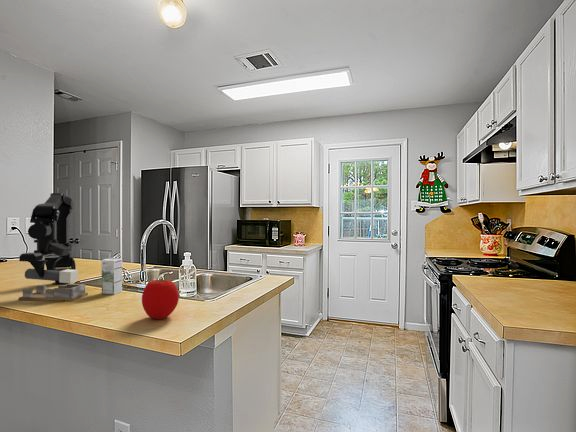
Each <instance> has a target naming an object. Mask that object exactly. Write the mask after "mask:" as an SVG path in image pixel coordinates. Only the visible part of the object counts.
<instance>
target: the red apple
mask: <svg viewBox="0 0 576 432" xmlns="http://www.w3.org/2000/svg"><path fill="white" fill-rule="evenodd" d="M179 294H180V293H179V289H178V287H177V285H176V284H175V282H174V281H172V280H170V279H163V278H160V279H154V280H151V281H149V282H148V283H147V284H146V285H145V287H144V289H143V291H142V295H141V305H142V308H143V310H144V312H145V313H146V315H147V316H148V317H149V318H152V319H154V320H162V319H166V318H168V317H169V316H170V315H171V314H173V312H174V311H175V309H176V307H177V305H178V303H179V297H180V295H179Z"/></svg>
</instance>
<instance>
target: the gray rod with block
mask: <svg viewBox="0 0 576 432" xmlns="http://www.w3.org/2000/svg"><path fill="white" fill-rule="evenodd" d="M24 278H25V279H28V280H37V281H39V280H40V281H51V282H52V281H54V282H55V281H59V282H60V283H68V284H74V282H77V281H78V280H79V269H75V270H72V269H66V270H63V271H56V270H47V269H44V276H43V277H39V275H38V273H37V272H36V270H35V269H34V268H28V269H26V270H25V271H24Z"/></svg>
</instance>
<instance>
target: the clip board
mask: <svg viewBox="0 0 576 432" xmlns="http://www.w3.org/2000/svg"><path fill="white" fill-rule="evenodd" d="M35 287H36V288H35V289H36V292H34V291H33V290H34V289H33V288H23V289H22V296H19V297H18V301H40V300H65V301H64V302H75V301H77V300H79V299H81V298H83V297H86V296H88V295H89V292H86V283H84V284H83V283H68V284H58V286H57V287H55V288H47V285H46V284H37V285H36V286H35Z"/></svg>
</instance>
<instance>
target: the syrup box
mask: <svg viewBox="0 0 576 432" xmlns="http://www.w3.org/2000/svg"><path fill="white" fill-rule="evenodd" d="M122 292H123V258H121V257H120V258H116V257H115V258H114V257H110V258H109V257H108V258H104V259H101V295H117V294H119V293H122Z"/></svg>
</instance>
